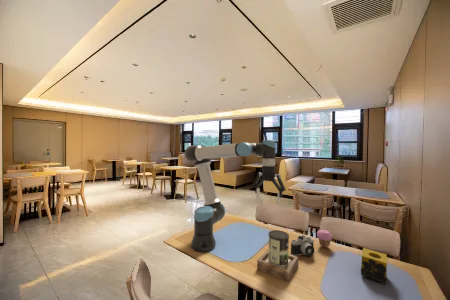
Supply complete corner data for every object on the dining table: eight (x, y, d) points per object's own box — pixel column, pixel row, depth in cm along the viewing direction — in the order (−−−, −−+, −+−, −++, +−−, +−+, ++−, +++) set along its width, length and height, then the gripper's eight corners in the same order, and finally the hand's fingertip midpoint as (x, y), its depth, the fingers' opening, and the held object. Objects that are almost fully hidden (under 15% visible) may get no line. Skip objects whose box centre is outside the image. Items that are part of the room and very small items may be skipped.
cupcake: (327, 250, 119) (327, 234, 118) (314, 245, 126) (314, 229, 125) (334, 246, 124) (334, 231, 124) (321, 241, 131) (321, 226, 131)
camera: (297, 260, 108) (297, 242, 108) (287, 251, 117) (288, 235, 117) (320, 256, 113) (320, 239, 112) (309, 248, 121) (309, 232, 121)
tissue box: (361, 265, 104) (362, 247, 104) (386, 273, 98) (386, 253, 98) (360, 275, 96) (360, 255, 96) (386, 284, 90) (387, 263, 90)
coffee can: (287, 256, 106) (287, 231, 105) (289, 268, 96) (290, 239, 95) (268, 254, 108) (268, 229, 108) (268, 265, 98) (268, 237, 98)
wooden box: (257, 268, 100) (257, 260, 100) (270, 255, 113) (270, 247, 113) (288, 281, 91) (288, 272, 90) (298, 265, 103) (298, 257, 103)
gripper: (247, 164, 121) (247, 198, 121) (287, 167, 106) (286, 206, 106) (253, 163, 127) (252, 196, 127) (291, 166, 112) (291, 203, 112)
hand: (268, 200), depth 117 cm, fingers open, 13 cm apart
